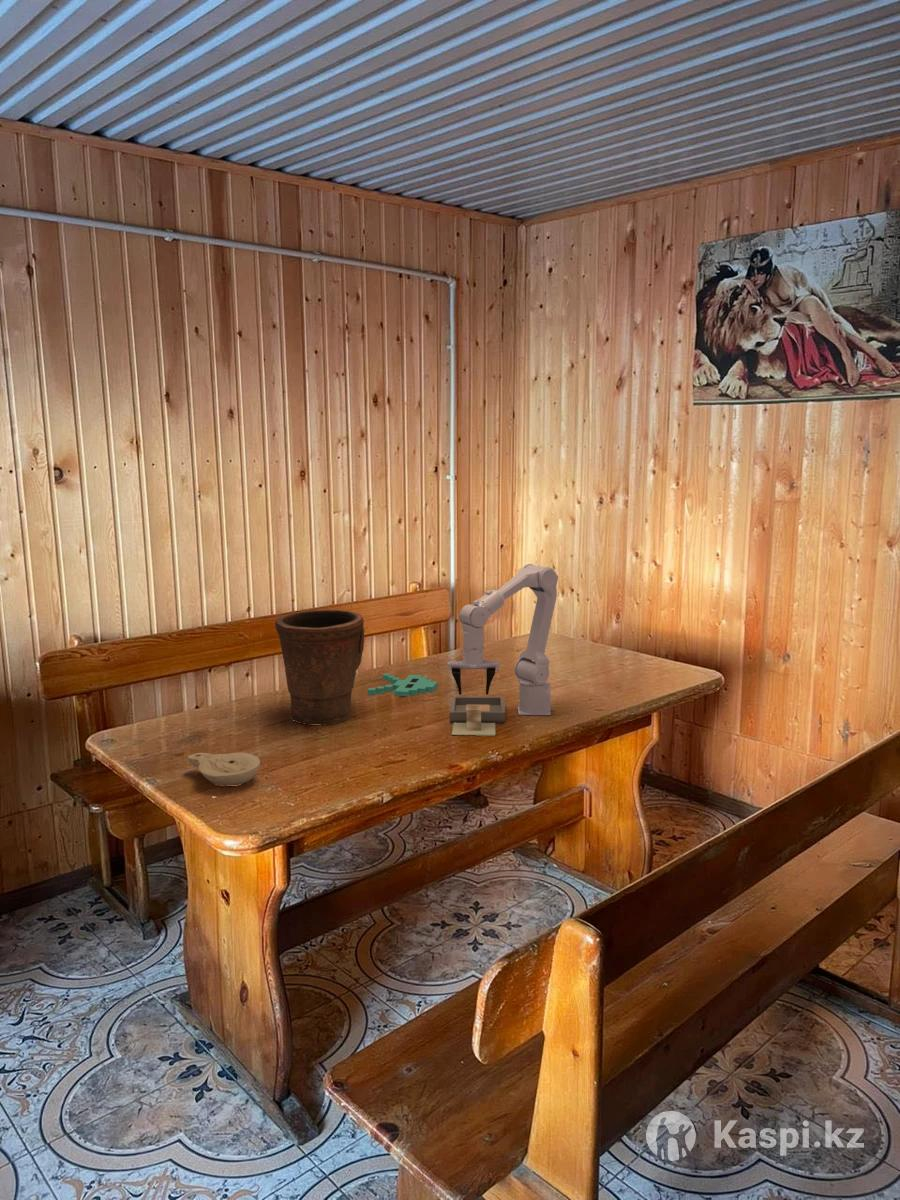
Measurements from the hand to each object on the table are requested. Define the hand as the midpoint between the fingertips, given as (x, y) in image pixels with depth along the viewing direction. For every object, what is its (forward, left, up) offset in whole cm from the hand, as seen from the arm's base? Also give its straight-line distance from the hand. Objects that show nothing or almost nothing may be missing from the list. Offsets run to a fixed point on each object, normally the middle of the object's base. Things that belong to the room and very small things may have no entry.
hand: (473, 693), depth 253 cm
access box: (-1, -10, -9) cm, 13 cm away
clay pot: (+44, -10, -10) cm, 46 cm away
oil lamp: (+61, +42, -10) cm, 75 cm away
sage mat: (0, +4, -9) cm, 10 cm away
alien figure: (+23, -38, -10) cm, 45 cm away
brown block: (0, +4, -9) cm, 10 cm away
